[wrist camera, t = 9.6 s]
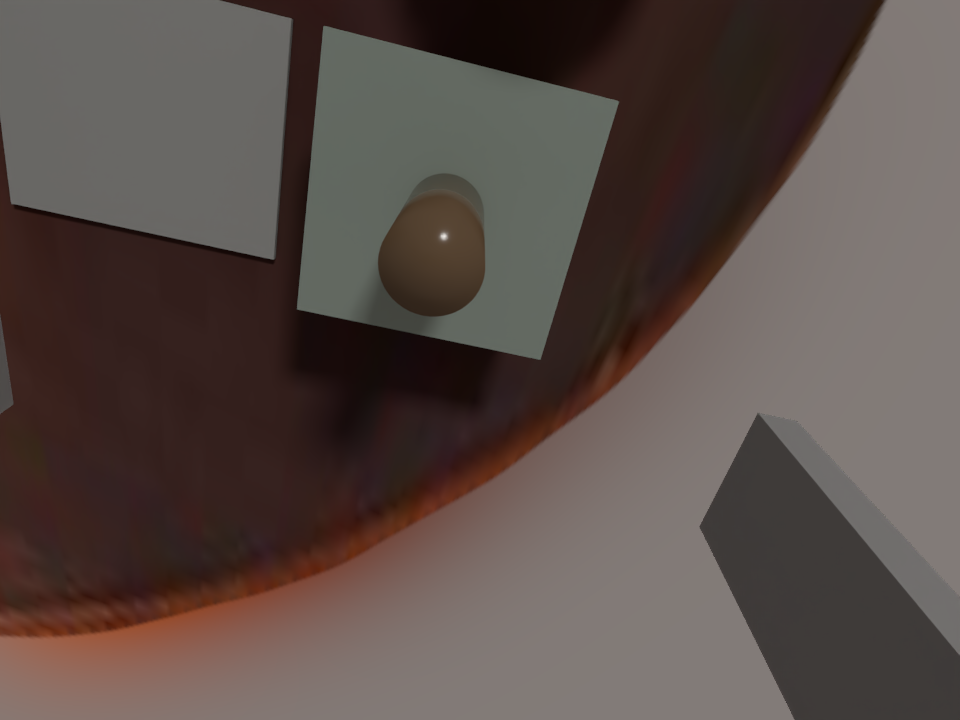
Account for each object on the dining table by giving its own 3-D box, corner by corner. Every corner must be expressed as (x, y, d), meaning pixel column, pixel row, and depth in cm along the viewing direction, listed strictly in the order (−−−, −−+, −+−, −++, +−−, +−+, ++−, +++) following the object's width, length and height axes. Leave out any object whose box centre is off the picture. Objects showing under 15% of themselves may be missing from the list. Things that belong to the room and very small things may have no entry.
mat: (15, 202, 31) (11, 203, 31) (-18, -61, 26) (-23, -62, 26) (275, 258, 33) (273, 259, 32) (293, 19, 28) (291, 18, 27)
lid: (303, 300, 29) (232, 391, 20) (330, 28, 23) (249, 1, 15) (538, 349, 30) (560, 454, 21) (612, 100, 25) (680, 111, 16)
